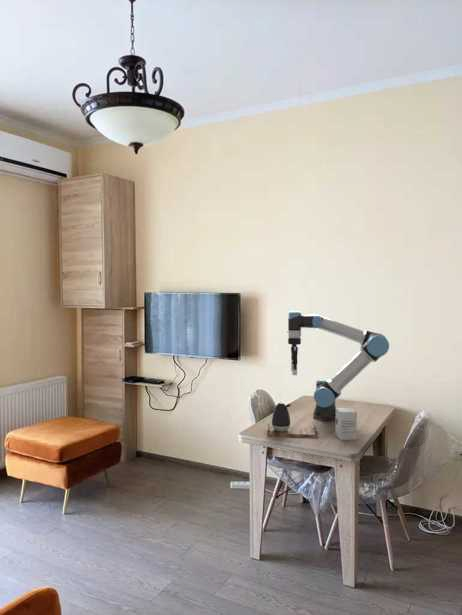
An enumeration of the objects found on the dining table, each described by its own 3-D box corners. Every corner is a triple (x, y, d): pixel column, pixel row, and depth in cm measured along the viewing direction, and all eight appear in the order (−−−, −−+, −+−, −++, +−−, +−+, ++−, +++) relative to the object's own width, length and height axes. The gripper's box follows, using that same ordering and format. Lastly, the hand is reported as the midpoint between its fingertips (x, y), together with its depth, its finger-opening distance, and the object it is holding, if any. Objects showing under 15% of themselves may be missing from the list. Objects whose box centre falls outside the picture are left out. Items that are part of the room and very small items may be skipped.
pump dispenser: (292, 432, 257) (293, 404, 256) (273, 433, 255) (274, 405, 255) (287, 427, 267) (288, 400, 266) (269, 428, 265) (269, 400, 265)
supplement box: (334, 435, 259) (335, 407, 258) (351, 434, 259) (351, 407, 259) (340, 440, 250) (340, 411, 249) (356, 440, 250) (357, 411, 250)
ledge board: (315, 431, 266) (315, 424, 265) (317, 437, 254) (317, 431, 253) (268, 429, 268) (268, 423, 267) (268, 436, 256) (268, 429, 255)
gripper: (287, 335, 296) (286, 369, 297) (289, 339, 271) (288, 376, 272) (299, 335, 296) (299, 369, 296) (302, 339, 271) (301, 377, 271)
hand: (294, 373), depth 284 cm, fingers open, 13 cm apart
